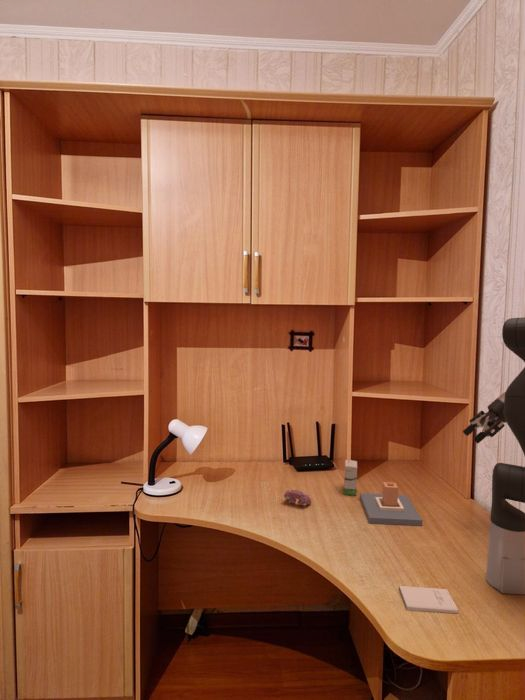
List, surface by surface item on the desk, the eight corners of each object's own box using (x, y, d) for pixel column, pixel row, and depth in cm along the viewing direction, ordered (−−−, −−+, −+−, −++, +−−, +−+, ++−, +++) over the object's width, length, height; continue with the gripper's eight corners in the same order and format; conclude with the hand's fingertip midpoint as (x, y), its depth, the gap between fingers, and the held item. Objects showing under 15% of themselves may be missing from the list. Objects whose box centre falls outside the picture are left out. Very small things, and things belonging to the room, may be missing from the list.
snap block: (397, 508, 155) (398, 485, 155) (384, 508, 156) (385, 484, 155) (394, 503, 160) (395, 480, 159) (382, 502, 160) (383, 480, 159)
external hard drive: (398, 590, 114) (446, 593, 113) (406, 612, 106) (458, 615, 105) (398, 585, 114) (446, 587, 113) (406, 606, 106) (458, 609, 105)
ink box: (356, 496, 170) (357, 467, 169) (343, 495, 171) (344, 466, 170) (356, 487, 178) (357, 459, 177) (344, 486, 179) (345, 458, 178)
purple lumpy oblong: (284, 505, 164) (281, 493, 161) (289, 496, 168) (286, 483, 164) (308, 511, 160) (306, 498, 156) (312, 502, 163) (310, 489, 160)
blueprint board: (422, 525, 148) (422, 516, 147) (369, 523, 149) (369, 514, 148) (406, 500, 167) (406, 492, 167) (359, 497, 169) (360, 490, 168)
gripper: (489, 394, 153) (454, 424, 155) (509, 402, 139) (471, 435, 141) (503, 409, 153) (468, 439, 155) (525, 419, 139) (486, 452, 141)
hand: (469, 437), depth 148 cm, fingers open, 8 cm apart
